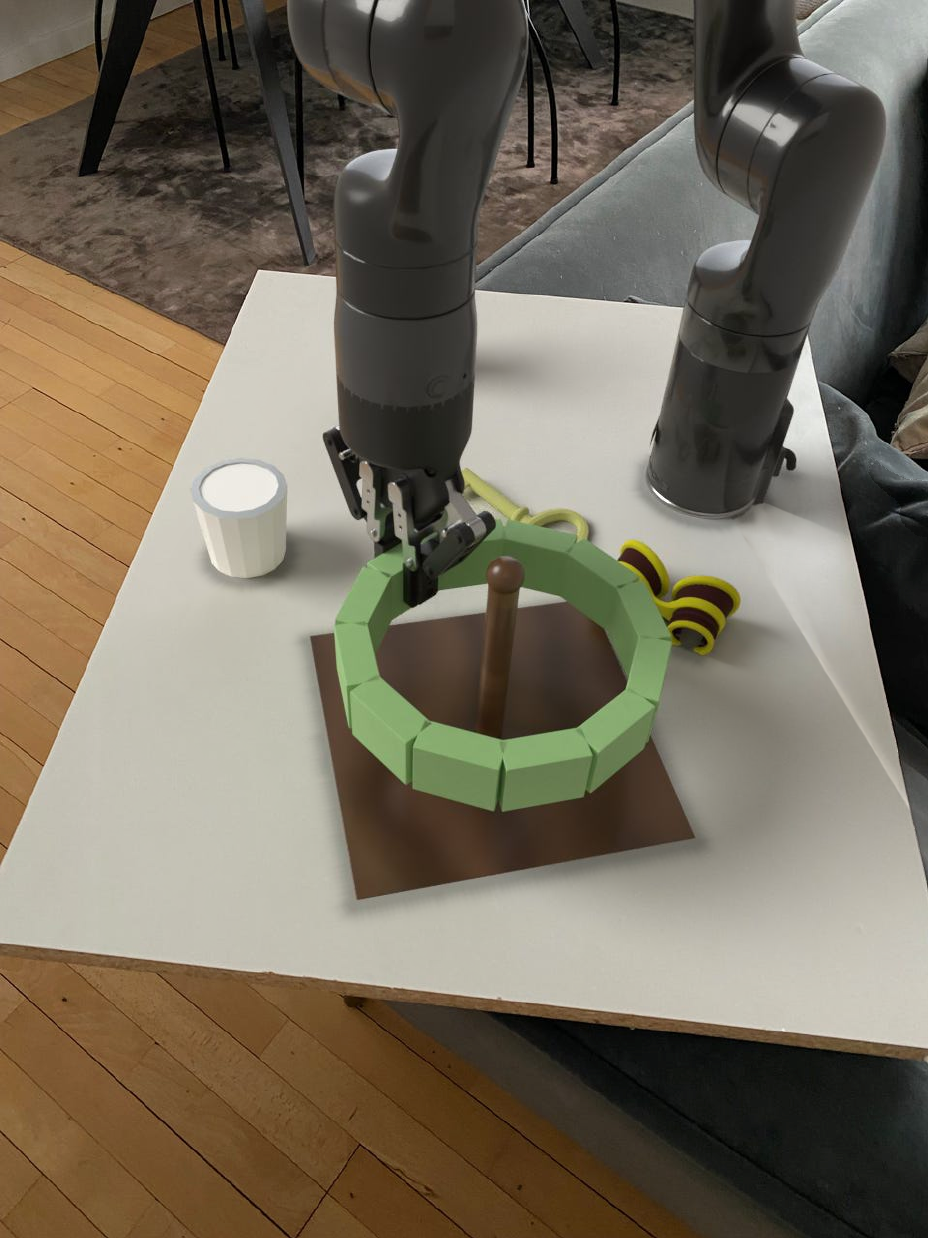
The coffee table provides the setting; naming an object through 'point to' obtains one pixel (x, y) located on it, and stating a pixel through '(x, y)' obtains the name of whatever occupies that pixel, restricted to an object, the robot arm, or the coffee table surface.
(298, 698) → the coffee table surface
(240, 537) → the white cup
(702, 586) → the opera glasses
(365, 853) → the stand
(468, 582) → the green ring
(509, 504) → the key
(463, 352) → the robot arm
